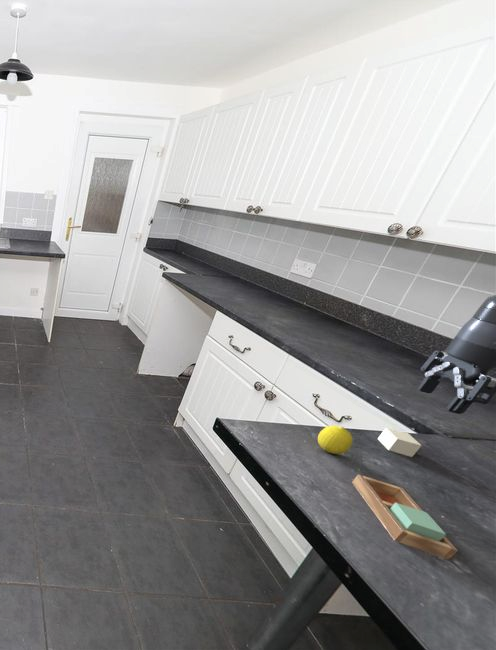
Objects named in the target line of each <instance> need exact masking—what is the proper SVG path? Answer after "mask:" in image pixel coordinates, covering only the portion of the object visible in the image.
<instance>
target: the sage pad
mask: <svg viewBox="0 0 496 650" xmlns="http://www.w3.org/2000/svg"><path fill="white" fill-rule="evenodd" d="M389 510H390V511H391V512H392V514H393V515H394V516H395V518H396V519H397V520H398V521H399V523H400V524H401V525H402V526H403V528H404V529H405V530H407V531H410V532H413V533H416V534H419V535H422V536H425V537H428V538H430V539H433V540H436V541H440V540H441V539H442V538H443V537H444V536H445V537H446V536H447V533H446V532H445V531H444V530H443V529H442V528H441V527H440V526H439V525H438V523H437V522H436V521H435V520H434V519H433V518H432V516H431V515H430V514H429V513H428V512H426V511H424V510H422V511H420V510H417V509H414V508H411V507H408V506H405V505H402V504H399V503H395V504H394V505H393V506H392V507H391V508H390V509H389Z"/></svg>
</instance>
